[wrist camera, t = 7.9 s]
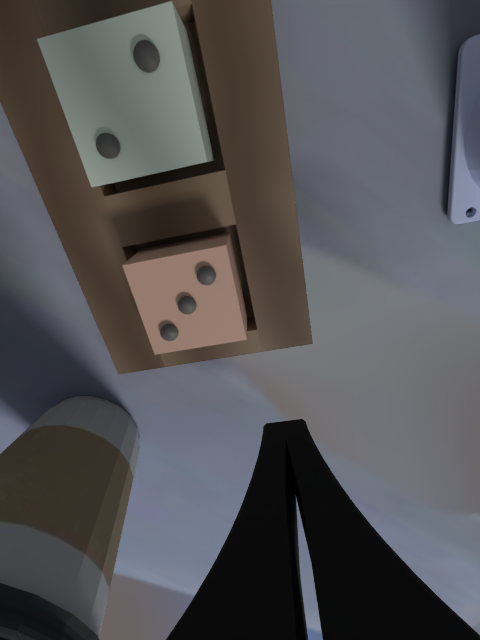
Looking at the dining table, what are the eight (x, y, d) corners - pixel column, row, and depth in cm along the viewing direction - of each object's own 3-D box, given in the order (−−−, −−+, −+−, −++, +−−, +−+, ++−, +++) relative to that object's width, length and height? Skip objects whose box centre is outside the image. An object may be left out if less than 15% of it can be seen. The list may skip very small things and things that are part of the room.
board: (212, -424, 10) (204, -549, 8) (307, 327, 21) (312, 343, 19) (-130, -280, 11) (-200, -361, 10) (128, 356, 22) (118, 374, 21)
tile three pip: (229, 231, 18) (225, 246, 15) (247, 314, 20) (246, 341, 17) (140, 249, 18) (120, 266, 15) (167, 328, 20) (153, 356, 18)
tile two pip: (186, 30, 14) (170, -2, 11) (214, 160, 16) (206, 161, 13) (76, 60, 15) (33, 37, 12) (116, 182, 17) (89, 187, 14)
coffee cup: (31, 475, 28) (-170, 770, 15) (4, 362, 23) (-342, 653, 10) (167, 488, 28) (92, 790, 15) (169, 379, 23) (60, 686, 10)
